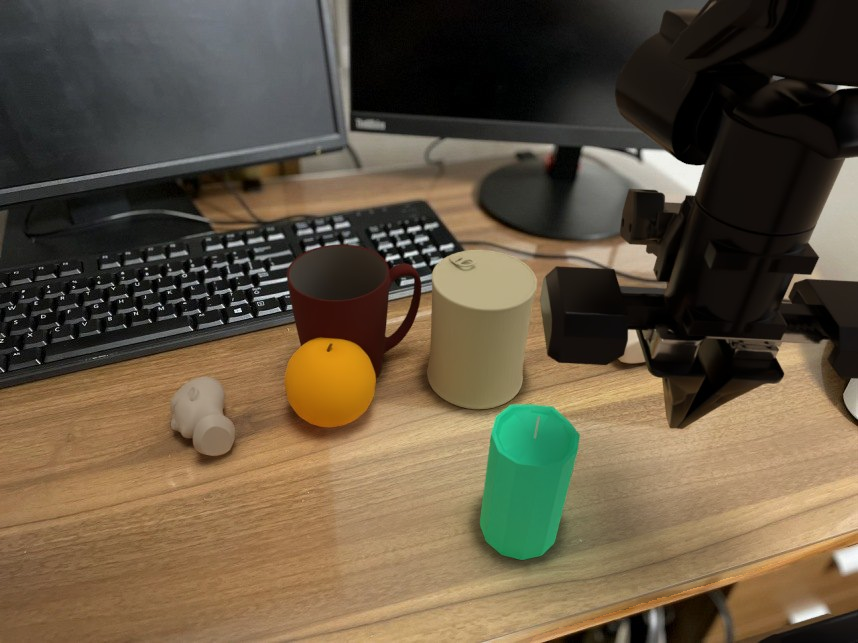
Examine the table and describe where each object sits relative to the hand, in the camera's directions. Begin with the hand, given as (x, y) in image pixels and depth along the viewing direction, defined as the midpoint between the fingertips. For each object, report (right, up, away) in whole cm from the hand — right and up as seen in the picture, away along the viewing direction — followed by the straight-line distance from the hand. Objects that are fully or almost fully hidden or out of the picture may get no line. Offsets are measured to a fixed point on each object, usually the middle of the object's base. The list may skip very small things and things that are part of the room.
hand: (673, 423), depth 43 cm
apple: (-24, -2, +18) cm, 31 cm away
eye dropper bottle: (+6, +4, +22) cm, 23 cm away
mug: (-22, +2, +23) cm, 32 cm away
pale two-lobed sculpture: (-35, -3, +16) cm, 39 cm away
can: (-11, +1, +22) cm, 25 cm away
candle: (-9, -9, +9) cm, 16 cm away
